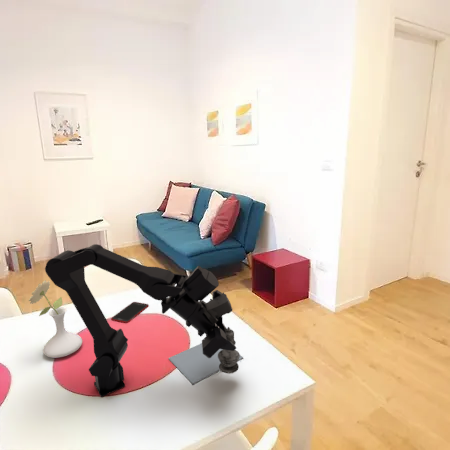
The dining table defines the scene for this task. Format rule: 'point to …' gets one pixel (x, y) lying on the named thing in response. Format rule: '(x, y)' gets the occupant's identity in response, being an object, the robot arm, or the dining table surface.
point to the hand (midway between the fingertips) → (233, 344)
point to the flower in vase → (62, 340)
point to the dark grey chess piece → (229, 356)
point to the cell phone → (129, 312)
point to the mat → (196, 363)
